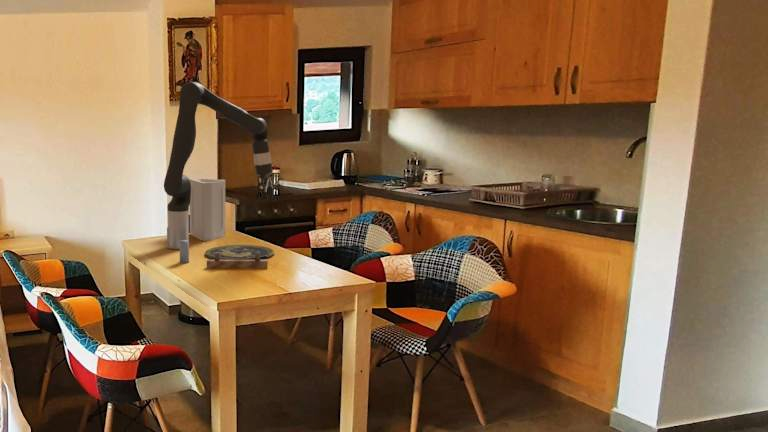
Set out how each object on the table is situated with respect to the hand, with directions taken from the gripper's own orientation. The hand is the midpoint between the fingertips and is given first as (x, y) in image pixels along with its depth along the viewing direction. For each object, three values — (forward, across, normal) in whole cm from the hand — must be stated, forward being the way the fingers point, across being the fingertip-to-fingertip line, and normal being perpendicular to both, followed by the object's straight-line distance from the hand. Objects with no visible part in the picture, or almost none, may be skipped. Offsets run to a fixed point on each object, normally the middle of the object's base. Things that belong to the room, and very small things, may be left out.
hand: (268, 198), depth 307 cm
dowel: (+19, +32, -29) cm, 47 cm away
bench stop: (+22, +35, -5) cm, 42 cm away
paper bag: (+20, -25, -41) cm, 52 cm away
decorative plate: (+23, +11, -13) cm, 28 cm away
